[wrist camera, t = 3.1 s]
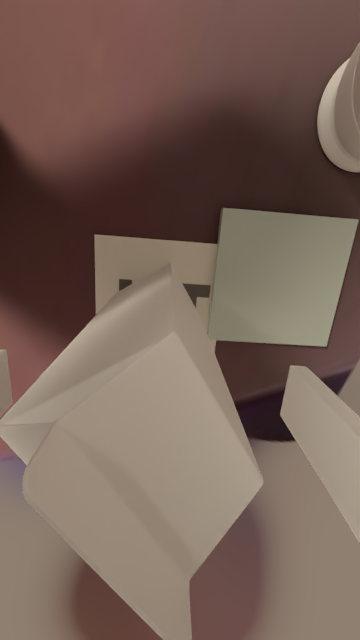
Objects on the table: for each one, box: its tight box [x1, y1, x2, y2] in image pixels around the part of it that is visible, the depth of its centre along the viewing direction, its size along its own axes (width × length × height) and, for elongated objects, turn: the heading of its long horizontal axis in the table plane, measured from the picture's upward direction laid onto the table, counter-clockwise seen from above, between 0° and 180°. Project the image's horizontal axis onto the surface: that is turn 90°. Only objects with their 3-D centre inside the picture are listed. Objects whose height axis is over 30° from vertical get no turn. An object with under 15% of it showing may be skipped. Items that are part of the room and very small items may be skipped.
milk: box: [0, 263, 264, 640], centre depth 16 cm, size 6×6×22 cm
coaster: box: [207, 208, 359, 347], centre depth 26 cm, size 12×12×1 cm
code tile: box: [94, 234, 217, 353], centre depth 27 cm, size 12×12×1 cm
